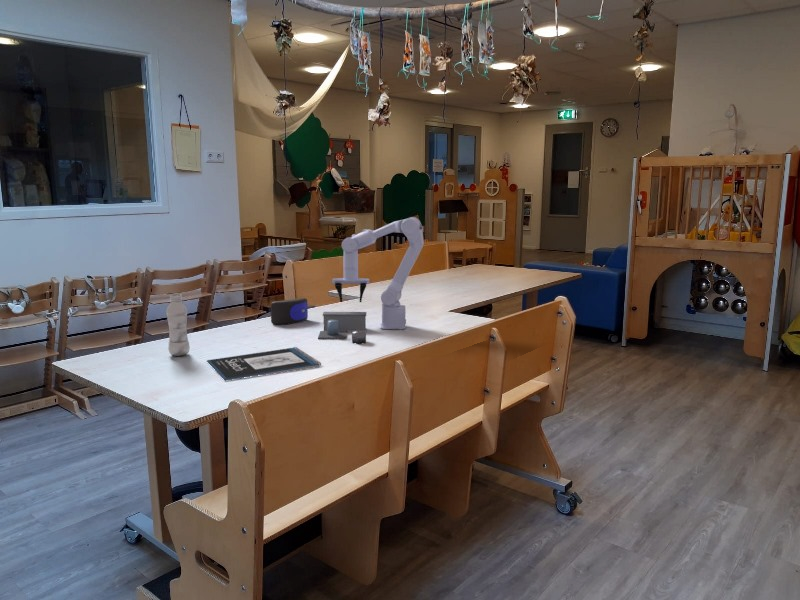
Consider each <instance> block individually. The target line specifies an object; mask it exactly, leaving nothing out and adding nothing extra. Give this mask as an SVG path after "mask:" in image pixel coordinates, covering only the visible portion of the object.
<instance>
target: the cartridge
mask: <svg viewBox="0 0 800 600" xmlns="http://www.w3.org/2000/svg"><path fill="white" fill-rule="evenodd" d="M327 334H328V335H338V320H328V328H327Z"/></svg>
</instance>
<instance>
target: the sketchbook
mask: <svg viewBox="0 0 800 600" xmlns="http://www.w3.org/2000/svg"><path fill="white" fill-rule="evenodd" d="M207 362H208V363H209V364H210V365H211V366H212V367H213V368H214V369H215V370H214V369H213V368H212V367H211V366H210V365H209V364H208V363H207ZM206 363H207V364H208V365H209V366H210V367H211V368H212V369H213V370H214V371H215V373H216V374H217V375H218V376H219V375H220V376H221V377H222V378H223V379H224V380H225V381H224V380H223V379H222V378H221V377H220V376H219V377H220V378H221V379H222V380H223V381H224V382H227V381H226V380H231V381H233V380H232V379H237V380H239V379H238V378H244V377H250V376H257V377H259V376H258V375H263V376H267V375H266V374H270V375H275V374H274V373H276V374H281V372H283V373H288V372H287V371H289V372H294V371H293V370H296V371H301V370H300V369H302V370H307V369H306V368H309V369H314V368H313V367H315V368H320V367H322V362H321V361H319V360H317V359H316V358H314V357H313V356H311V355H309V353H307V352H304V351H303V350H302V349H300V348H299V347H297V346H294V347H288V348H283V349H281V348H280V349H274V350H269V351H259V352H254V353H247V354H241V355H234V356H226V357H220V358H213V359H206ZM250 378H251V377H250ZM244 379H245V378H244Z"/></svg>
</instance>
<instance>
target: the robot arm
mask: <svg viewBox="0 0 800 600" xmlns="http://www.w3.org/2000/svg"><path fill="white" fill-rule="evenodd" d="M423 229H424V227H423V225H422V223H421V220H420V219H418V218H417V217H415V216H410V217H408V218H405V219H400V220H395V221H392V222H391V223H387V224H385V225H384V226H381V227H380V228H377V229H375V230H373V229H370V228H369V229H367V228H365V229H362V231H361V232H359V233H356V234H355V233H354V234H352V235H351V236H349V237H346V238H344V240H342V242H341V249H342V250H343V265H342V266H343V277H339V278H338V277H337V278H332V280H331V282H332V283H331V284H332V285H334V287H335V289H336V291H337V294H338V297H339V302H340V303H343V291H342V290H343V285H347V284H348V285H352V284H353V285H359V303H362V300H363V295H364V292H365V290H366V288H367V285H370V278H364V277H363V278H361V277H359V254H358V253H359V252H358V251H359V250H360V249H363V248H366V247H368V246H371V245H373V244H375V243H376V240H377V239H379V238H381V237H383V236H386V235H388V234H392V233H393V232H394V233H399V234H400V233H402V234H404V236H405V237H406V238H407V241H408V244H409V246H408V248H407V250H406V252H405V254H404V256H403V258H402V260H401V262H400V264H399V266H398V267H397V270H396V272H395V274H394V276H393V278H392V279H391V282H390V283H389V285H388V286H387V289H385V290H384V291H383V292H382V293H381V296H380V300H381V303H382V304H381V323H380V329H381V330H406V324H407V319H406V305H404V304H401V303H400V300H401V298H402V290H403V289H404V285H405V283H406V281H407V278H408V277H409V275H410V273H411V271H412V269H413V267H414V265H415V263H416V262H417V259H418V257H419V256H420V254H421V251H422V249H423V247H424V244H425V243H424V231H423Z"/></svg>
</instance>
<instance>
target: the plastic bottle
mask: <svg viewBox="0 0 800 600" xmlns="http://www.w3.org/2000/svg"><path fill="white" fill-rule="evenodd" d="M182 301H183V295H182V294H181V293H172V294H169V305H168V306H167V307H166V310H165V313H166V318H167V323H168V330H169V335H168V337H169V340H168V341H169V342H168V352H169V354H170V355H171V356H173V357H182V356H185V355H188V354H189V353H190V342H189V338H188V333H187V332H188V331H187V319H188V309H187V307H186V305H185V304H184V303H183V302H182Z"/></svg>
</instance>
